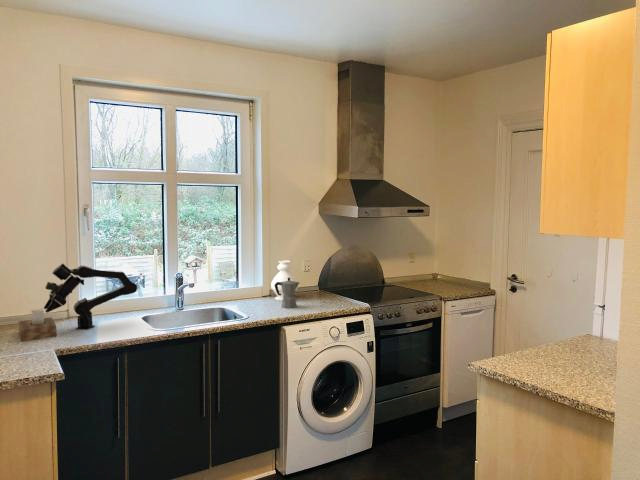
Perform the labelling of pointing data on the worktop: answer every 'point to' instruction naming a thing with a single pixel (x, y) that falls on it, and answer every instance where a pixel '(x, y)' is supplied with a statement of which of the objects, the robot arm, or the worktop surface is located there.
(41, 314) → the aluminium bar
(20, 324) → the walnut pocket block
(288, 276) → the decorative vase
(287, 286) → the coffeepot
